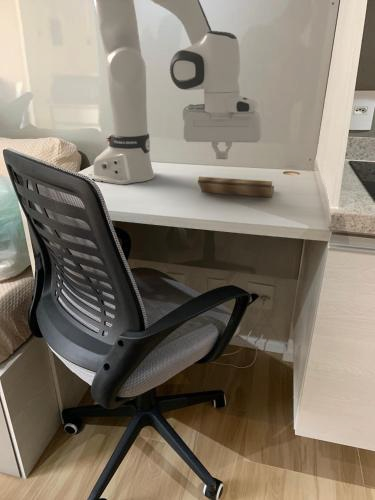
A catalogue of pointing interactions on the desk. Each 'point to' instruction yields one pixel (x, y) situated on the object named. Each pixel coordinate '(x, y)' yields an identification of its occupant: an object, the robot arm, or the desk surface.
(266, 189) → the plank
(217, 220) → the desk surface
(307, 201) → the desk surface
